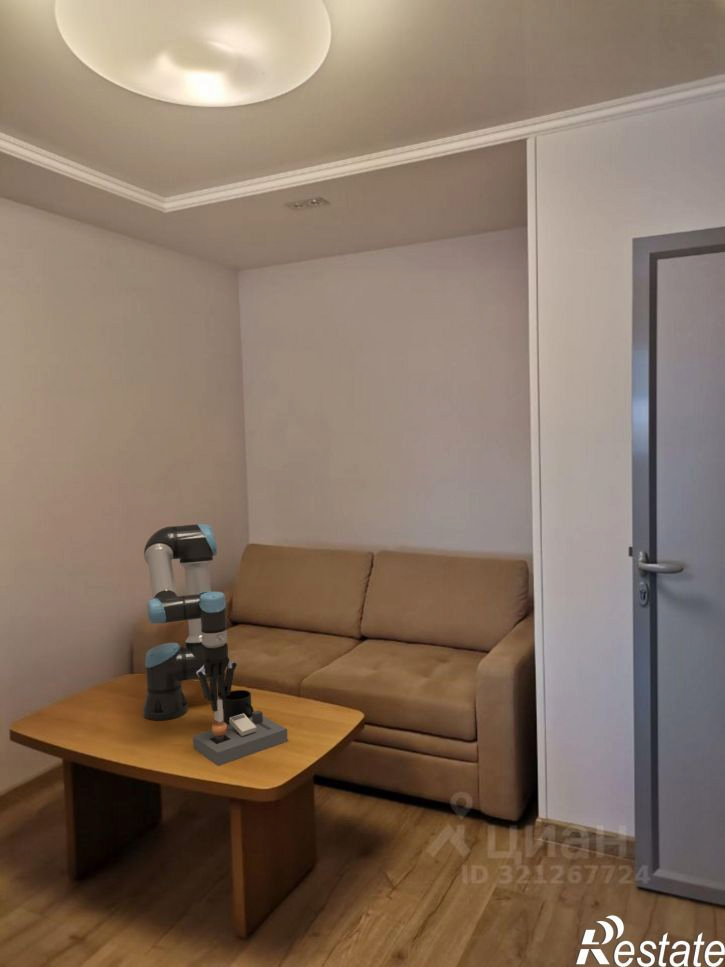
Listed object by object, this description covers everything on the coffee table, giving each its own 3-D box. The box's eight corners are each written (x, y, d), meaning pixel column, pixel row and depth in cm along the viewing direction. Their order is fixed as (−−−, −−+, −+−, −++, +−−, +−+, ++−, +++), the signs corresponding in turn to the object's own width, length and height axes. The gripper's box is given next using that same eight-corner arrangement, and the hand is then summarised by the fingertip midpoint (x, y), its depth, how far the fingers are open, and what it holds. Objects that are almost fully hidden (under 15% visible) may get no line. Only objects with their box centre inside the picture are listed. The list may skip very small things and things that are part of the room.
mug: (244, 730, 238) (242, 703, 237) (217, 723, 245) (216, 696, 244) (263, 720, 246) (262, 694, 245) (237, 713, 252) (236, 688, 252)
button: (210, 743, 223) (209, 724, 222) (223, 739, 226) (222, 720, 225) (217, 748, 219) (216, 729, 219) (230, 743, 222) (229, 725, 222)
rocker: (229, 722, 229) (229, 717, 228) (243, 717, 232) (243, 713, 231) (241, 736, 223) (242, 731, 222) (256, 731, 226) (256, 726, 226)
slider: (252, 721, 234) (252, 712, 234) (258, 719, 236) (258, 710, 236) (256, 723, 232) (255, 714, 232) (262, 721, 234) (262, 712, 234)
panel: (193, 748, 226) (192, 732, 225) (260, 726, 241) (260, 711, 240) (218, 765, 213) (217, 748, 213) (287, 741, 228) (286, 725, 228)
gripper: (200, 651, 213) (205, 730, 215) (240, 642, 221) (244, 717, 223) (189, 646, 219) (193, 722, 221) (228, 637, 227) (232, 711, 229)
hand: (218, 720), depth 222 cm, fingers closed
